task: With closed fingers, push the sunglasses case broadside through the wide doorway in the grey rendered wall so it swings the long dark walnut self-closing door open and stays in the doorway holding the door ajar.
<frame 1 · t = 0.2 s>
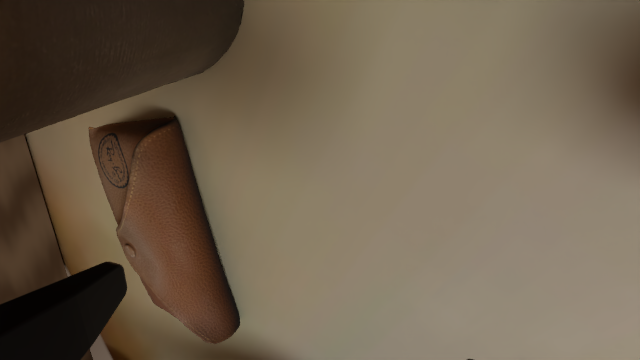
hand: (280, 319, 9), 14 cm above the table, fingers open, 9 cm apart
door: (4, 291, 30), point 5 cm above the table, hinge at 0.0°
sunglasses case: (176, 225, 29), on the table
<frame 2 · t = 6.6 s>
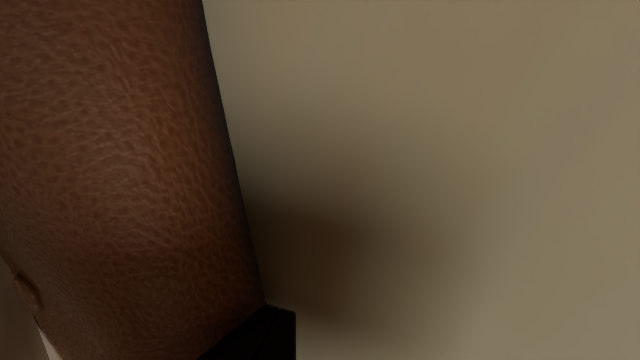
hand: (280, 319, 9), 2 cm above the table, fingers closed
sunglasses case: (160, 225, 12), on the table, touching gripper
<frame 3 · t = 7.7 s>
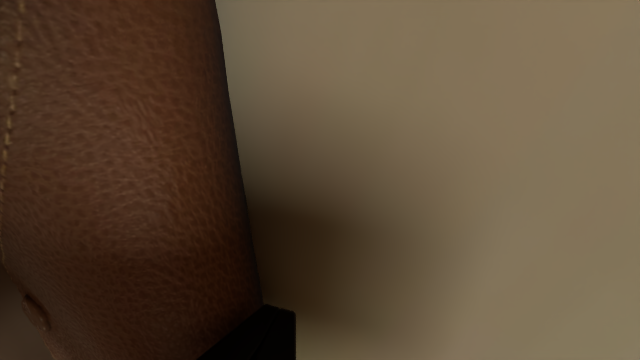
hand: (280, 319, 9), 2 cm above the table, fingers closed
sunglasses case: (164, 244, 13), on the table
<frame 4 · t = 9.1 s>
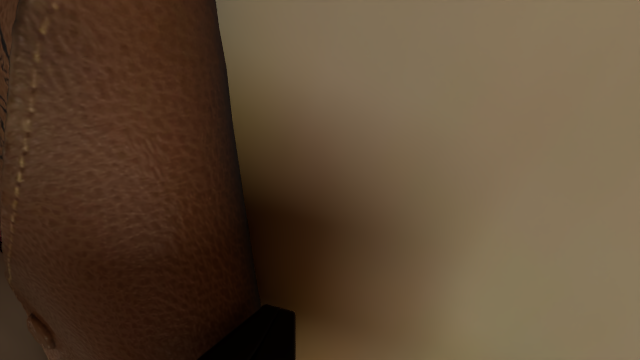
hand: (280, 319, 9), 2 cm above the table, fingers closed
sunglasses case: (166, 260, 13), on the table
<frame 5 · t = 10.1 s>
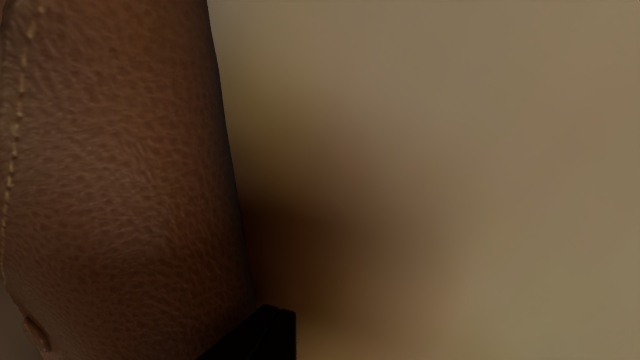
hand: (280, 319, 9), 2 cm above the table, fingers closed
sunglasses case: (163, 262, 13), on the table
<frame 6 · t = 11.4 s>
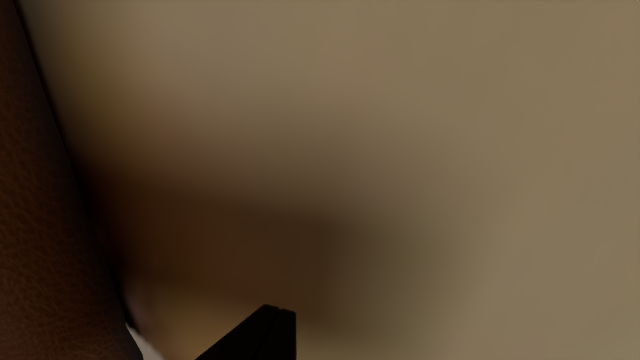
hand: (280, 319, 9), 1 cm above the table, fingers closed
sunglasses case: (39, 229, 13), on the table
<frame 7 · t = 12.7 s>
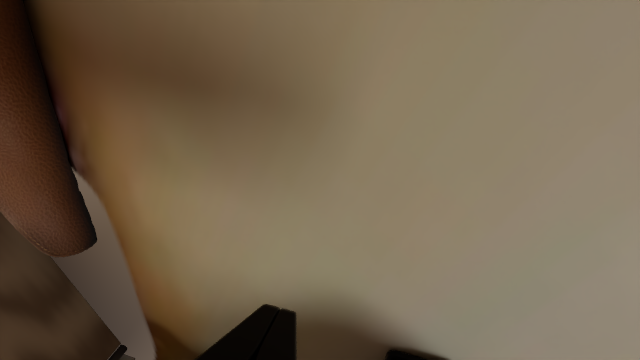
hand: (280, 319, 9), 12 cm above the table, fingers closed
sunglasses case: (27, 114, 25), on the table
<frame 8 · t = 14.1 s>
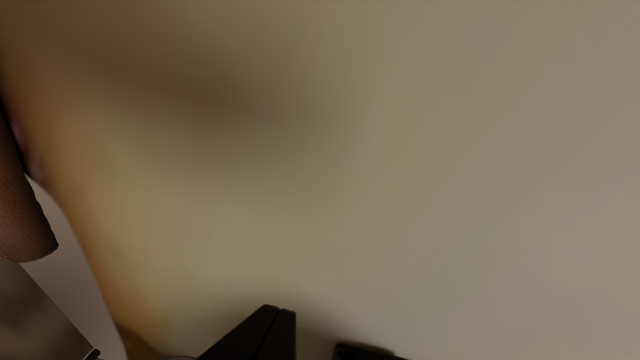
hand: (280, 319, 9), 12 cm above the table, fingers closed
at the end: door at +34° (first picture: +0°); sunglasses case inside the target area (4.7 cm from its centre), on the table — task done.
